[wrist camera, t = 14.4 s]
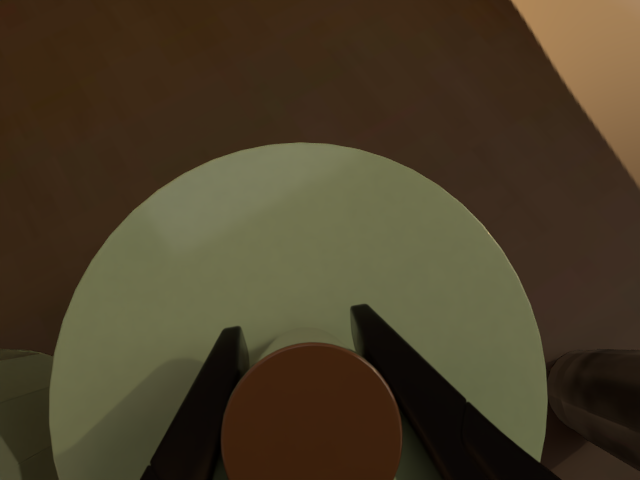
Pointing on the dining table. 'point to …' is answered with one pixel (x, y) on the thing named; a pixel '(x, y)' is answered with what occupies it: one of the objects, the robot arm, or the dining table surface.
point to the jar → (25, 416)
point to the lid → (289, 317)
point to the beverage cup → (600, 399)
